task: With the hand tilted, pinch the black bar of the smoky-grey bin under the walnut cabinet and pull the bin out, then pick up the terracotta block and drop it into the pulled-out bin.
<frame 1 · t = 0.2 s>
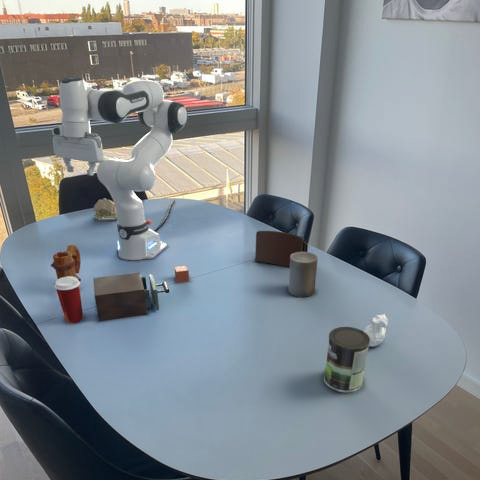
hand: (80, 173, 163), 39 cm above the table, tool pointing down, fingers open, 8 cm apart
paper cup: (74, 319, 154), on the table
block: (182, 279, 179), on the table
pillar candle: (301, 291, 171), on the table
coffee can: (343, 381, 126), on the table
cabinet: (121, 308, 160), on the table
letter holder: (281, 261, 195), on the table
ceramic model: (107, 217, 244), on the table
bin: (140, 293, 159), point 5 cm above the table, slide at 3.0 cm
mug: (73, 287, 174), on the table
bust: (371, 343, 142), on the table
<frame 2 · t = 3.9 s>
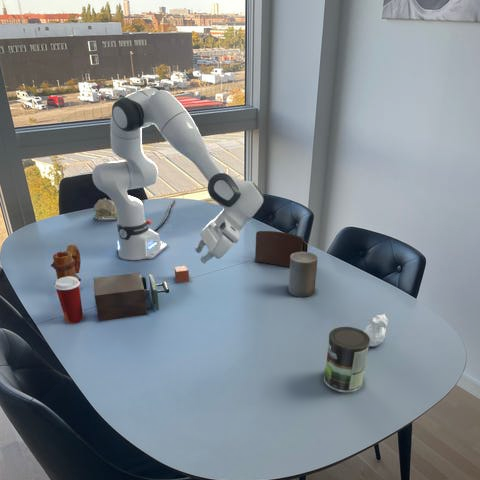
hand: (199, 256, 158), 16 cm above the table, tool tilted 45°, fingers open, 8 cm apart
nothing on the table moved.
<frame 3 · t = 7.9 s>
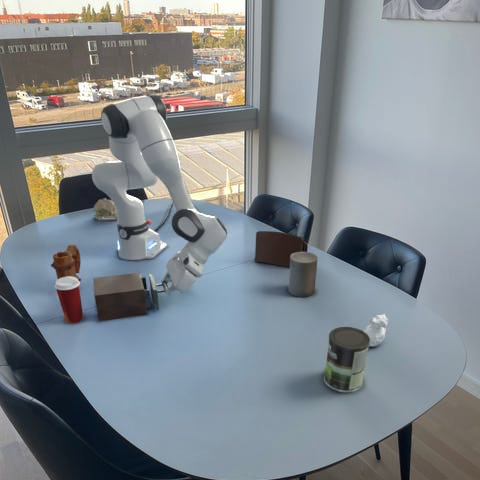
hand: (164, 288, 160), 6 cm above the table, tool tilted 45°, fingers closed on bin, 6 cm apart
bin: (140, 293, 159), point 5 cm above the table, slide at 3.0 cm, touching gripper
everything else where it was.
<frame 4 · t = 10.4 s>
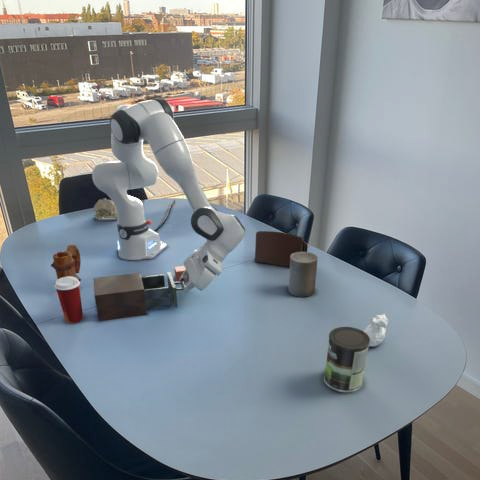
hand: (182, 286, 162), 6 cm above the table, tool tilted 45°, fingers closed on bin, 6 cm apart
bin: (159, 291, 160), point 5 cm above the table, slide at 9.4 cm, touching gripper
everything else where it was.
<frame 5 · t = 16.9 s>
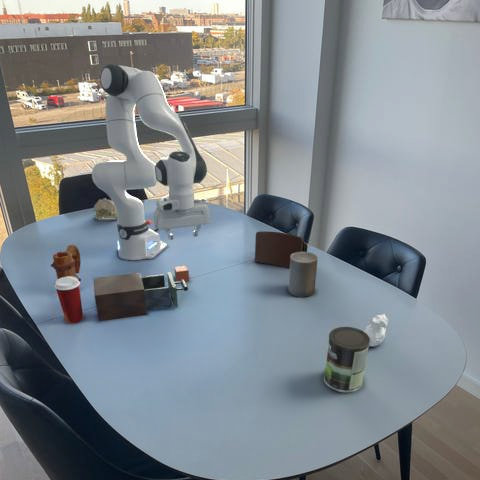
hand: (183, 237, 171), 17 cm above the table, tool pointing down, fingers open, 8 cm apart
bin: (159, 291, 160), point 5 cm above the table, slide at 9.4 cm
everything else where it was.
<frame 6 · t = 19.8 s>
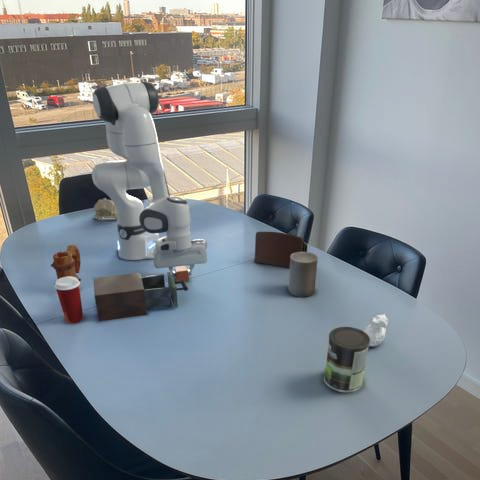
hand: (181, 275, 179), 2 cm above the table, tool pointing down, fingers closed on block, 4 cm apart
block: (182, 279, 179), on the table, touching gripper
everything else where it was.
when the fingers open (10 cm above the table, at t = 25.8 s): block drops 6 cm, resting on bin.
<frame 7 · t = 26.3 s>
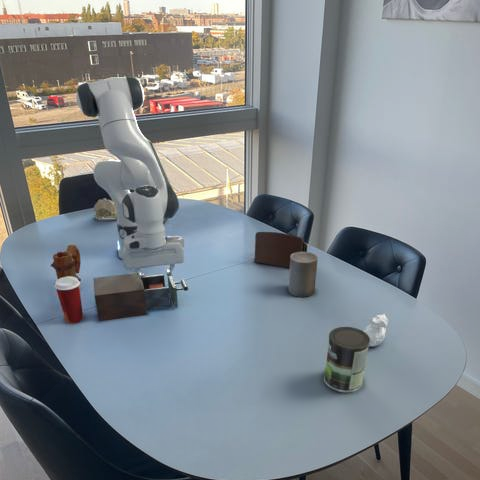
hand: (155, 277, 157), 10 cm above the table, tool pointing down, fingers open, 8 cm apart
block: (157, 298, 162), point 2 cm above the table, touching bin
bin: (159, 291, 160), point 5 cm above the table, slide at 9.4 cm, touching block
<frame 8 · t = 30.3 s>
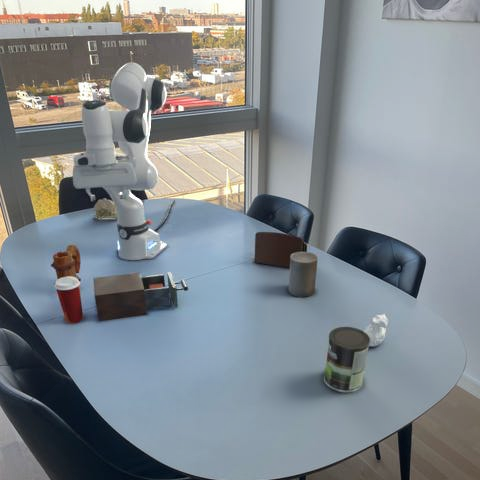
hand: (108, 199, 156), 33 cm above the table, tool pointing down, fingers open, 8 cm apart
at the end: bin slide at 9.4 cm; block inside the target area in the bin (0.1 cm from its centre), point 2.0 cm above the cabinet's base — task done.
